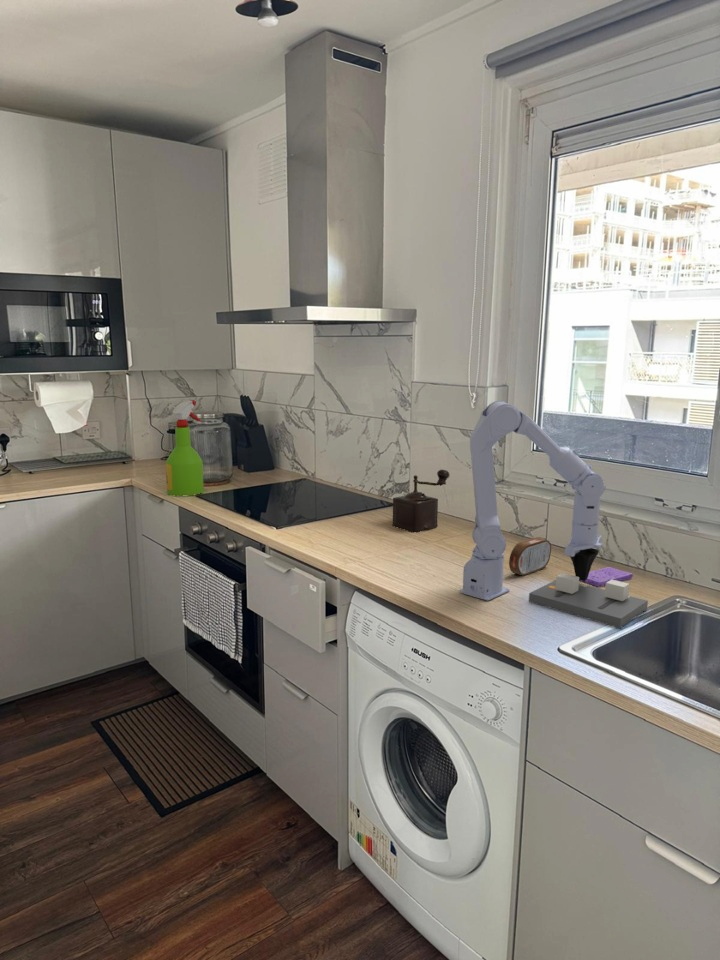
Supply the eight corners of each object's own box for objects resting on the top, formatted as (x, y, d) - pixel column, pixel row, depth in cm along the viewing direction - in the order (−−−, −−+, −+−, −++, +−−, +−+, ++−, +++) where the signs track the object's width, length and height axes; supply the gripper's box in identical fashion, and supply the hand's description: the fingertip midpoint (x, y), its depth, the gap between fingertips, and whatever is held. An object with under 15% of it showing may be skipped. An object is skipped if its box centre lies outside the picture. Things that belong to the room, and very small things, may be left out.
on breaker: (622, 601, 150) (623, 587, 149) (604, 596, 153) (605, 582, 152) (628, 597, 152) (629, 583, 151) (610, 593, 155) (611, 579, 154)
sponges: (575, 581, 171) (576, 573, 171) (609, 572, 178) (609, 565, 177) (599, 589, 165) (599, 582, 165) (632, 580, 172) (633, 573, 171)
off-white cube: (571, 593, 154) (572, 580, 154) (555, 589, 157) (556, 576, 156) (578, 590, 156) (579, 576, 156) (561, 586, 159) (562, 572, 158)
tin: (542, 564, 182) (544, 533, 181) (552, 567, 180) (554, 535, 178) (507, 576, 173) (508, 544, 171) (517, 579, 170) (519, 546, 169)
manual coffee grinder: (416, 533, 211) (417, 475, 208) (391, 526, 219) (392, 470, 216) (450, 525, 221) (452, 469, 217) (425, 518, 229) (427, 465, 226)
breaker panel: (620, 627, 142) (621, 618, 141) (528, 601, 156) (529, 592, 155) (647, 609, 152) (647, 600, 151) (558, 586, 166) (559, 577, 165)
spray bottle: (217, 488, 274) (214, 400, 267) (189, 498, 258) (185, 403, 251) (189, 485, 279) (185, 398, 272) (159, 494, 263) (155, 402, 256)
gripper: (587, 531, 151) (583, 591, 154) (615, 520, 161) (611, 575, 164) (557, 526, 156) (554, 583, 158) (587, 514, 166) (583, 569, 169)
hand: (581, 579), depth 161 cm, fingers closed
